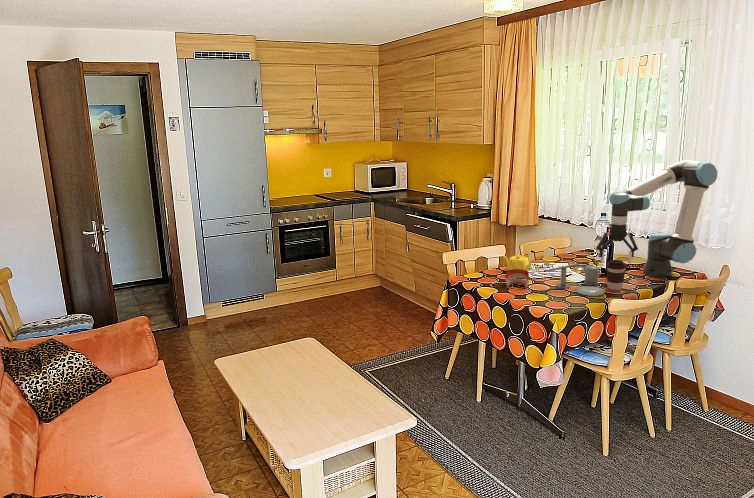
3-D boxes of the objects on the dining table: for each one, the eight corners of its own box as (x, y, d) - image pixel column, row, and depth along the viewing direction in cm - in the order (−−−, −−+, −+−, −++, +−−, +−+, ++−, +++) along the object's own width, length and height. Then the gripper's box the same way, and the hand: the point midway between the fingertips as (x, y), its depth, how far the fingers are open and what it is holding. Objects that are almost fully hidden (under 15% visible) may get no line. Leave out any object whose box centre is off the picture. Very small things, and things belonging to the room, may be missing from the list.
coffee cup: (626, 291, 290) (628, 264, 286) (606, 291, 292) (608, 263, 288) (622, 285, 300) (624, 258, 296) (603, 285, 302) (604, 258, 298)
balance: (581, 284, 304) (582, 261, 301) (583, 288, 298) (585, 264, 295) (542, 284, 307) (543, 261, 304) (544, 288, 301) (544, 264, 298)
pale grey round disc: (600, 288, 297) (601, 286, 297) (607, 297, 284) (607, 294, 283) (573, 288, 299) (573, 286, 299) (578, 296, 286) (579, 294, 285)
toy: (529, 283, 311) (530, 269, 309) (528, 289, 301) (528, 274, 300) (507, 281, 315) (507, 268, 313) (505, 287, 306) (505, 273, 304)
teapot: (535, 273, 328) (535, 257, 326) (513, 275, 325) (513, 259, 323) (523, 266, 342) (523, 251, 340) (501, 269, 339) (502, 254, 337)
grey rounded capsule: (596, 281, 309) (597, 265, 307) (599, 285, 302) (600, 269, 300) (583, 281, 310) (584, 265, 308) (586, 285, 303) (586, 269, 301)
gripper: (642, 221, 289) (638, 261, 294) (591, 222, 293) (589, 260, 298) (646, 224, 282) (643, 265, 287) (595, 225, 285) (592, 264, 291)
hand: (615, 263), depth 292 cm, fingers open, 13 cm apart
